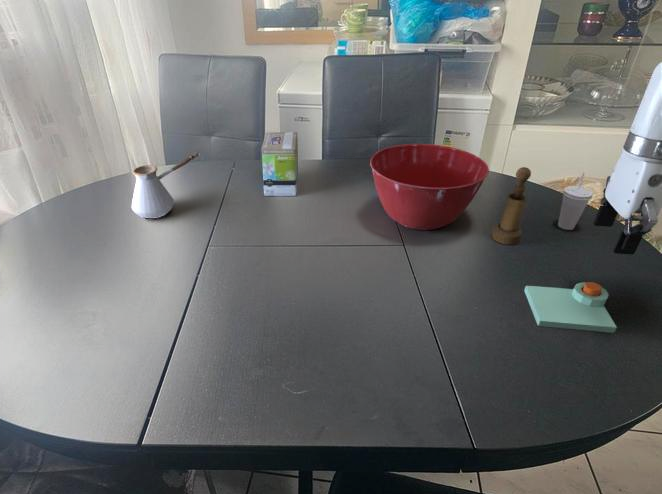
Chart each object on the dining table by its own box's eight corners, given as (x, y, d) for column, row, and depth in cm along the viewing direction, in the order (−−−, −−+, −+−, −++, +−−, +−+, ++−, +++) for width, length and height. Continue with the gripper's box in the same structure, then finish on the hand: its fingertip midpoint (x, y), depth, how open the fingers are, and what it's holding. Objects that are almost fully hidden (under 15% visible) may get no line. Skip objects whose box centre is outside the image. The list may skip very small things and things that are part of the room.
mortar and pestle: (524, 244, 106) (546, 173, 96) (497, 245, 106) (516, 174, 96) (513, 231, 112) (533, 162, 102) (487, 231, 112) (504, 163, 102)
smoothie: (569, 219, 116) (588, 167, 108) (586, 231, 111) (606, 178, 103) (546, 221, 115) (563, 170, 107) (562, 233, 110) (581, 180, 102)
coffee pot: (136, 226, 119) (122, 173, 111) (131, 208, 128) (117, 158, 119) (214, 209, 126) (206, 158, 118) (204, 194, 135) (196, 145, 126)
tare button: (595, 288, 88) (598, 282, 87) (601, 297, 85) (604, 291, 84) (580, 287, 88) (583, 281, 87) (585, 296, 86) (588, 289, 85)
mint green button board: (596, 295, 90) (601, 283, 88) (619, 333, 81) (625, 321, 79) (523, 289, 92) (527, 278, 91) (537, 326, 83) (542, 314, 81)
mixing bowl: (491, 211, 121) (504, 155, 112) (451, 258, 102) (464, 197, 94) (396, 187, 135) (401, 136, 126) (346, 225, 117) (348, 169, 108)
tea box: (297, 196, 132) (295, 147, 123) (263, 197, 132) (259, 148, 124) (298, 176, 144) (297, 130, 136) (267, 176, 144) (264, 131, 136)
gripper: (710, 167, 63) (657, 267, 73) (654, 129, 77) (616, 217, 87) (651, 164, 64) (607, 263, 74) (606, 128, 78) (574, 215, 88)
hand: (612, 238), depth 80 cm, fingers open, 9 cm apart
